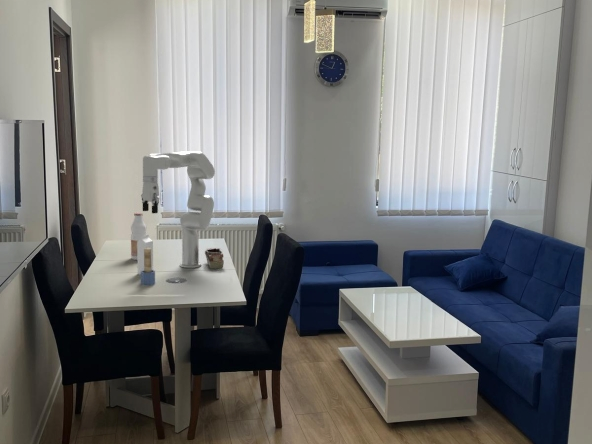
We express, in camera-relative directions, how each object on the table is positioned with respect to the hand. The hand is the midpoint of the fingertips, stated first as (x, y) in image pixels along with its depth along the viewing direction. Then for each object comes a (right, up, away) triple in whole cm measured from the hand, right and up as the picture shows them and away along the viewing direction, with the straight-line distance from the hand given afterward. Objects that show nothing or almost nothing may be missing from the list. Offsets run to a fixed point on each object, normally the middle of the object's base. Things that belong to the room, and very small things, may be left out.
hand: (150, 212), depth 323 cm
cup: (0, -38, -4) cm, 38 cm away
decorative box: (+27, -31, +39) cm, 57 cm away
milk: (-6, -34, +15) cm, 38 cm away
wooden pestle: (0, -37, -5) cm, 37 cm away
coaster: (+13, -37, +2) cm, 39 cm away
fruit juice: (-19, -28, +52) cm, 62 cm away
